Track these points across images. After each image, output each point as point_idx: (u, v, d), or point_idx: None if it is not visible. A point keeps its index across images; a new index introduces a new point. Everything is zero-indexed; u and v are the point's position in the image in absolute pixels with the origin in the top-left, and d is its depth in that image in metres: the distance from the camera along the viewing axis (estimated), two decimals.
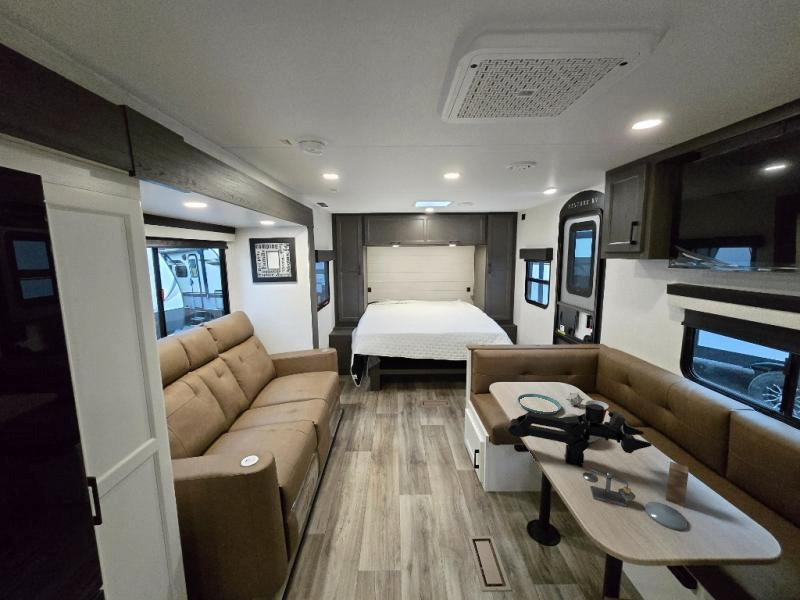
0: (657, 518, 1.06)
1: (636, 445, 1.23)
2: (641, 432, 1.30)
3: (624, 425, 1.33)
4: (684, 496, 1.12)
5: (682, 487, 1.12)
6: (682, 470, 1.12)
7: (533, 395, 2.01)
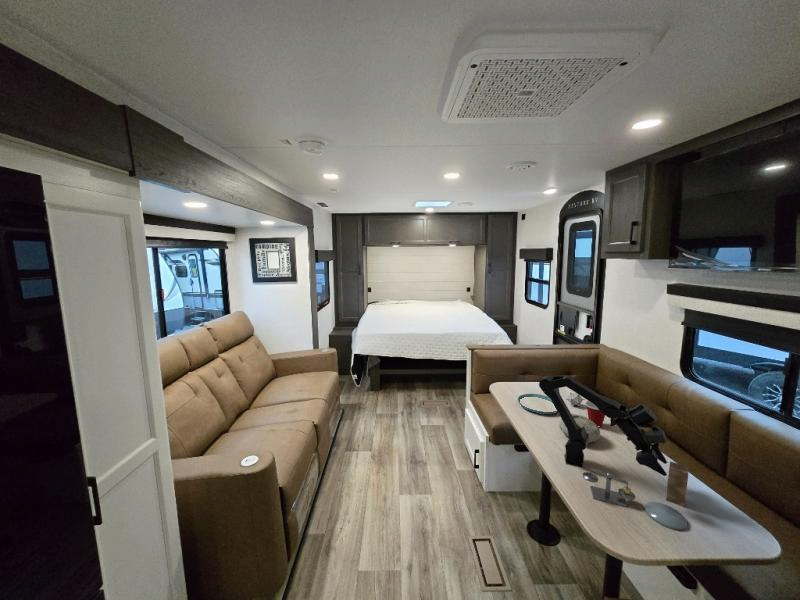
0: (657, 518, 1.06)
1: (651, 464, 1.14)
2: (665, 461, 1.20)
3: (655, 444, 1.22)
4: (684, 496, 1.12)
5: (682, 487, 1.12)
6: (682, 470, 1.12)
7: (533, 395, 2.01)
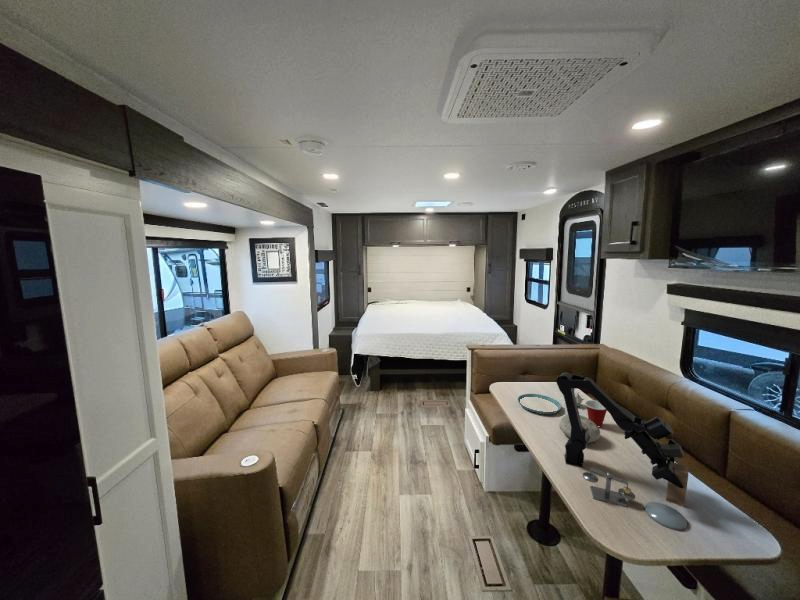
0: (657, 518, 1.06)
1: (668, 476, 1.13)
2: None
3: (671, 460, 1.18)
4: (684, 496, 1.12)
5: None
6: (682, 470, 1.12)
7: (533, 395, 2.01)
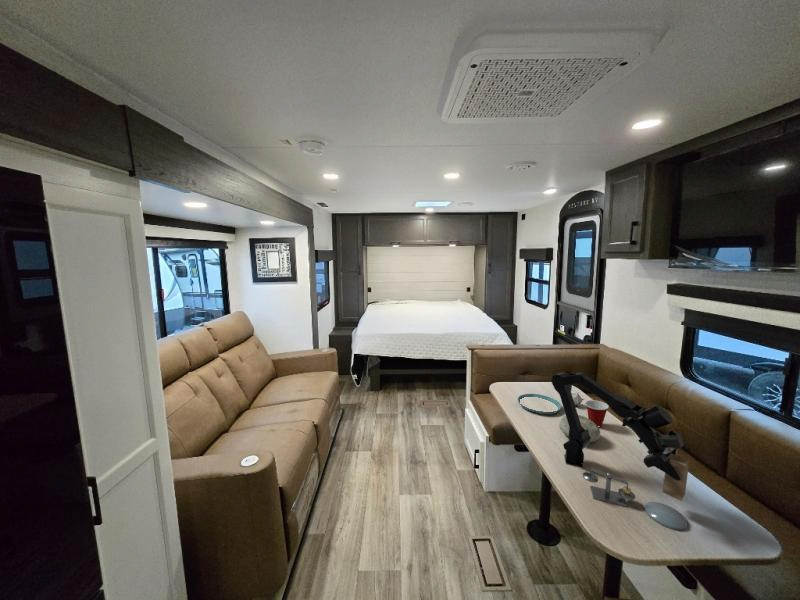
0: (657, 518, 1.06)
1: (663, 467, 1.09)
2: None
3: (672, 453, 1.12)
4: (681, 489, 1.06)
5: (679, 480, 1.07)
6: (680, 462, 1.07)
7: (533, 395, 2.01)
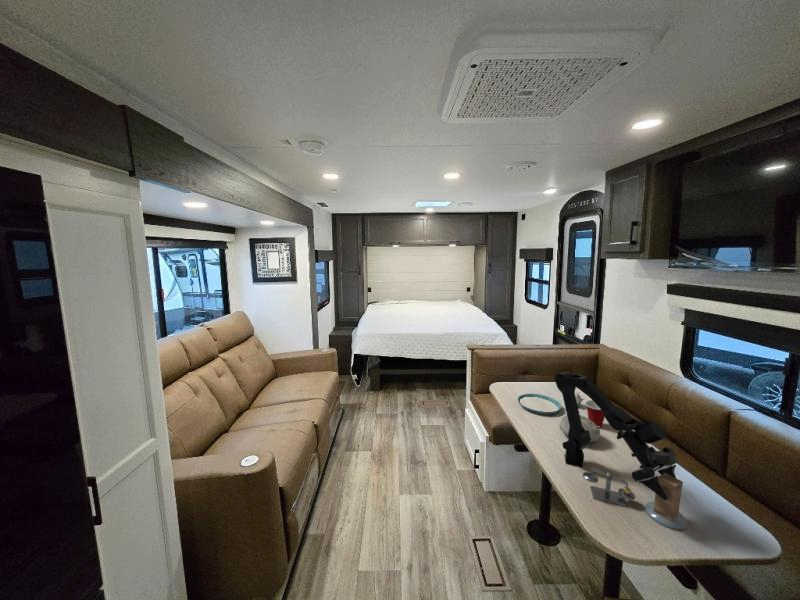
0: (657, 518, 1.06)
1: (650, 484, 1.06)
2: None
3: (669, 468, 1.10)
4: (671, 510, 1.04)
5: (669, 500, 1.04)
6: (671, 482, 1.05)
7: (533, 395, 2.01)
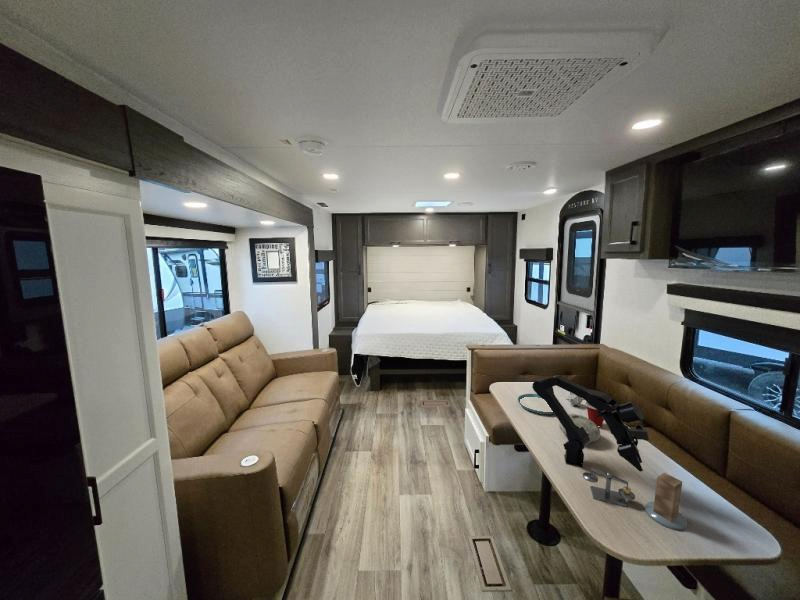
0: (657, 518, 1.06)
1: (630, 458, 1.16)
2: (640, 460, 1.22)
3: (634, 443, 1.24)
4: (670, 510, 1.04)
5: (668, 500, 1.05)
6: (670, 482, 1.05)
7: (533, 395, 2.01)
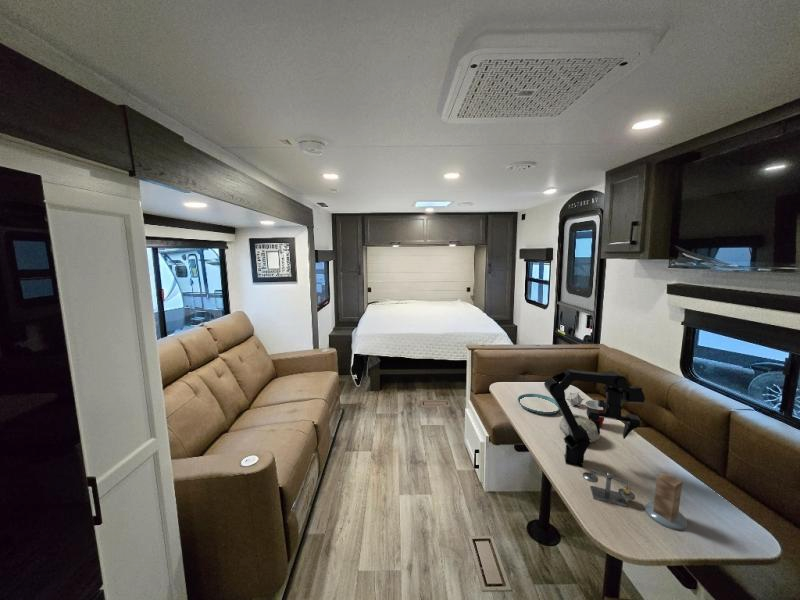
0: (657, 518, 1.06)
1: None
2: None
3: None
4: (670, 510, 1.04)
5: (668, 500, 1.05)
6: (670, 482, 1.05)
7: (533, 395, 2.01)
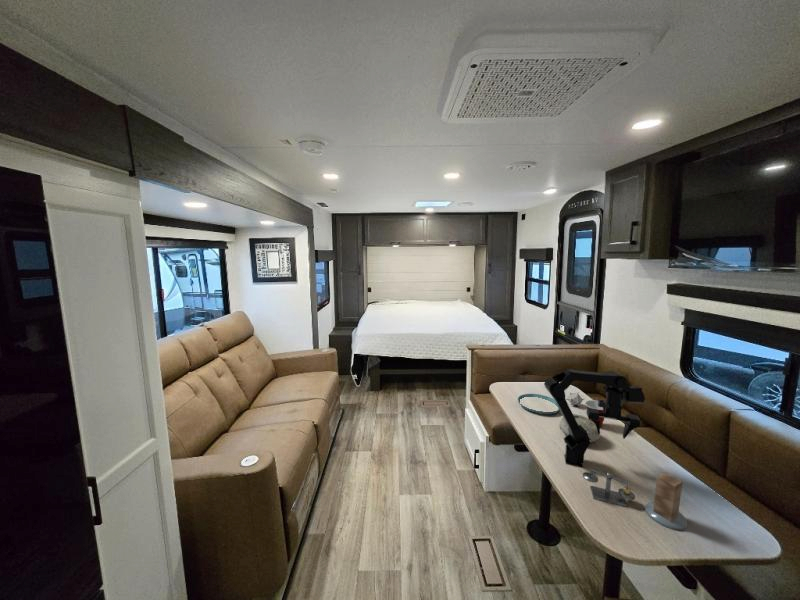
0: (657, 518, 1.06)
1: None
2: None
3: None
4: (670, 510, 1.04)
5: (668, 500, 1.05)
6: (670, 482, 1.05)
7: (533, 395, 2.01)
